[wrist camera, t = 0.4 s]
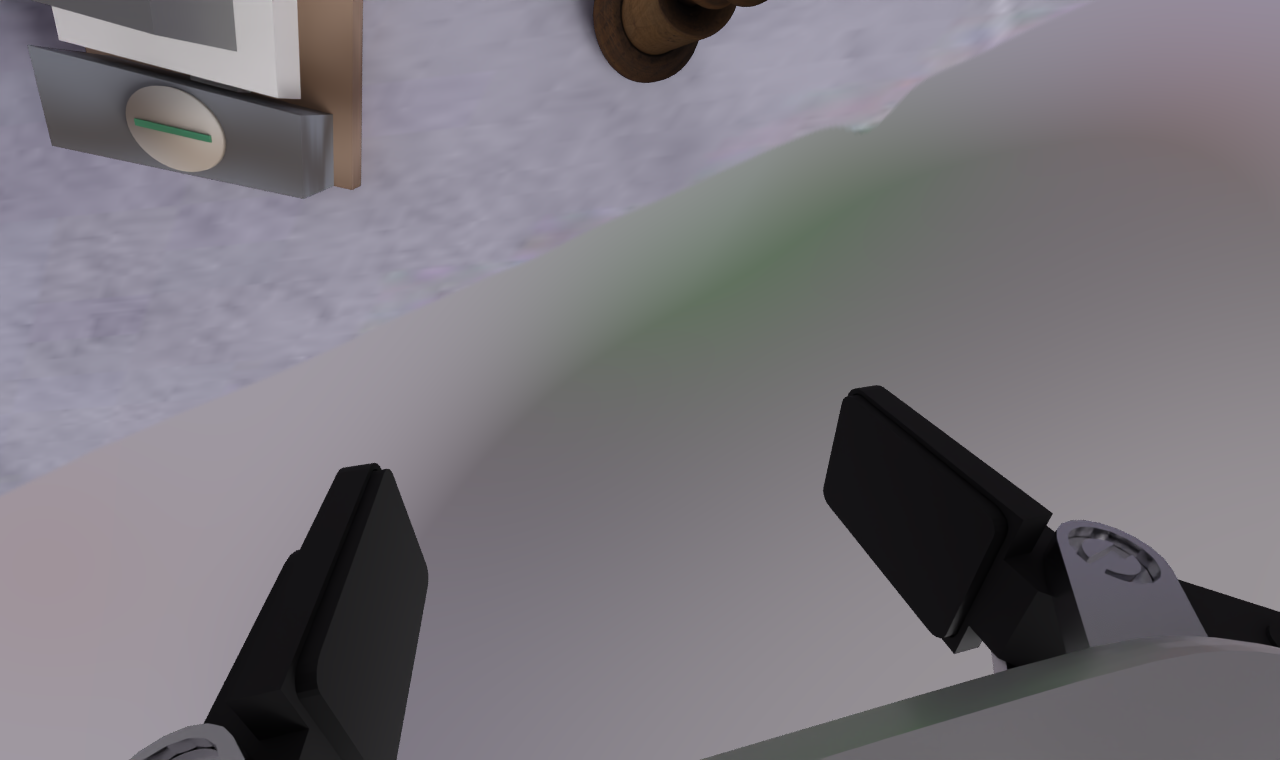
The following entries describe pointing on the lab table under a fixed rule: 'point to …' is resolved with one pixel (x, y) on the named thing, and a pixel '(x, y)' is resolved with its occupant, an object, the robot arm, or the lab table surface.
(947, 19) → the lab table surface
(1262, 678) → the robot arm
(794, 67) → the lab table surface
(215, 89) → the rail stand
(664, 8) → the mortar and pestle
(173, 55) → the carriage
